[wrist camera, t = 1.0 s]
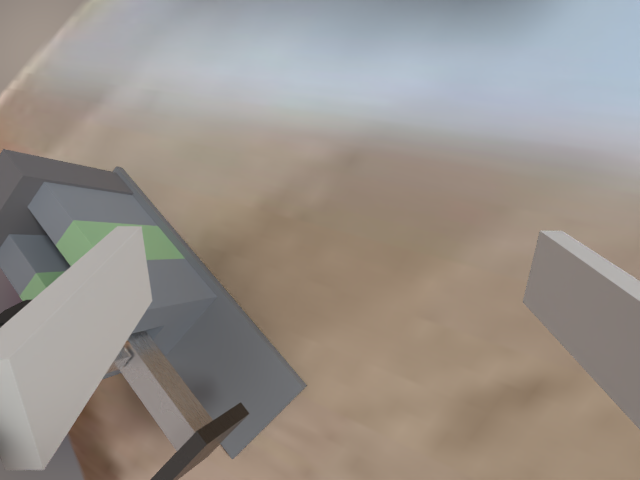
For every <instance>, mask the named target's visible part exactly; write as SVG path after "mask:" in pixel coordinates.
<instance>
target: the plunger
mask: <svg viewBox="0 0 640 480" xmlns="http://www.w3.org/2000/svg"><path fill="white" fill-rule="evenodd" d="M116 370H120V372H121V373H122V375H123V376H124V377H125V379H126V380H127V382H128V383H129V384H130V386H131V387H132V389H133V390H134V391H135V393H136V394H137V396H138V397H139V399H140V400H141V401H142V403H143V404H144V406H145V407H146V408H147V410H148V411H149V413H150V414H151V415H152V417H153V418H154V420H155V421H156V423H157V424H158V425H159V427H160V428H161V430H162V431H163V432H164V434H165V435H166V437H167V438H168V439H169V441H170V442H171V444H172V445H173V447H174V448H175V449H176V451H177V452H176V453H175V454H174V455H173V456H172V458H171V459H170V460H169V461H168V462H167V463H166V464H165V465H164V466H163V467H162V468H161V469H160V470H159V471H158V472H157V473H156V474H155V475H154V477H153V478H152V479H151V480H178V479H179V478H180V477H182V476H183V475H184V474H186V473H187V472H188V471H190V470H191V469H192V468H193V467H195V466H196V465H197V464H199V463H200V462H201V461H203V460H204V459H205V458H206V457H208V456H209V455H210V454H211V453H212V452H213V450H214V449H215V448H216V447H217V446H218V445H219V444H220V443H221V442H222V441H223V440H224V439H225V438H226V437H227V436H228V435H229V434H230V433H231V432H232V431H233V430H234V429H235V428H236V427H237V426H238V425H239V424H240V423H241V422H242V421H243V420H244V419H245V418H246V417H247V416H248V415H249V414H250V413H249V412H248V411H247V409H246V408H245V407H244V406H243V404H242V403H241V402H240V403H239V404H237V405H236V406H234V407H233V408H231V409H230V410H228V411H227V412H225V413H223V414H222V415H220V416H219V417H217V418H216V419H214V420H213V419H212V418H211V417H210V415H209V414H208V413H207V411H206V410H205V409H204V407H203V406H202V405H201V403H200V402H199V401H198V399H197V398H196V397H195V395H194V394H193V393H192V391H191V390H190V389H189V387H188V386H187V385H186V383H185V382H184V381H183V380H182V378H181V377H180V376H179V374H178V373H177V372H176V370H175V369H174V368H173V366H172V365H171V364H170V362H169V361H168V360H167V358H166V357H165V356H164V354H163V353H162V352H161V350H160V349H159V348H158V346H157V345H156V344H155V342H154V341H153V340H152V338H151V337H150V336H149V334H148V333H147V332H146V330H145V331H140V332H136V333H132V334H131V335H130V336H129V338H128V340H127V341H126V343H125V344H124V346H123V347H122V349H121V351H120V352H119V354H118V355H117V357H116V358H115V360H114V361H113V363H112V365H111V366H110V368H109V369H108V371H107V372H106V374H107V373H110V372H113V371H116Z"/></svg>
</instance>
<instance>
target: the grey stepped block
mask: <svg viewBox="0 0 640 480" xmlns="http://www.w3.org/2000/svg"><path fill="white" fill-rule="evenodd" d="M117 226H142V233H143V240H144V247H145V253H146V260H147V267H148V274H149V281H150V288H151V294H152V302H151V304H150V305H149V307H148V308H147V310H146V312H145V313H144V315H143V316H142V318H141V319H140V321H139V322H138V324H137V326H136V327H135V329H134V330H133V332H132V333H136V332H140V331H145V330H146V332H147V333H148V334H149V336H150V337H151V338H152V340H153V341H154V342H155V344H156V345H157V346H158V348H159V349H160V350H161V352H162V353H163V354H164V356H165V357H166V358H167V360H168V361H169V362H170V364H171V365H172V366H173V368H174V369H175V370H176V372H177V373H178V374H179V376H180V377H181V378H182V380H183V381H184V382H185V383H186V385H187V386H188V387H189V389H190V390H191V391H192V393H193V394H194V395H195V397H196V398H197V399H198V401H199V402H200V403H201V405H202V406H203V407H204V409H205V410H206V411H207V413H208V414H209V415H210V417H211V418H212V419H213V420H214V419H216V418H217V417H219V416H220V415H222V414H223V413H225V412H227V411H228V410H230V409H231V408H233V407H234V406H236V405H237V404H239V403H240V402H241V403H242V404H243V406H244V407H245V408H246V409H247V411H248V412H249V413H250V414H249V415H248V416H247V417H246V418H245V419H244V420H243V421H242V422H241V423H240V424H239V425H238V426H237V427H236V428H235V429H234V430H233V431H232V432H231V433H230V434H229V435H228V436H227V437H226V438H225V439H224V440H223V441H222V442H221V443H220V444H221V445H222V446H223V448H224V449H225V450H226V452H227V453H228V454H229V456H230V457H231V458H232V459H233V458H235V457H236V456H237V455H238V454H239V453H240V452H241V451H242V450H243V449H244V448H245V447H246V446H247V445H248V444H249V443H250V442H251V441H252V440H253V439H254V438H255V437H256V436H257V435H258V434H259V433H260V432H261V431H262V430H263V429H264V428H265V427H266V426H267V425H268V424H269V423H270V422H271V421H272V420H273V419H274V418H275V417H276V416H277V415H278V414H279V413H280V412H281V411H282V410H283V409H284V408H285V407H286V406H287V405H288V404H289V403H290V402H291V401H292V400H293V399H294V398H295V397H296V396H297V395H298V394H299V393H300V392H301V391H302V390H303V389H304V388H305V387H306V386H307V385H306V384H305V383H304V382H303V380H302V379H301V378H300V377H299V376H298V375H297V373H296V372H295V371H294V370H293V369H292V367H291V366H290V365H289V364H288V363H287V362H286V360H285V359H284V358H283V357H282V356H281V354H280V353H279V352H278V351H277V350H276V349H275V347H274V346H273V345H272V344H271V343H270V342H269V340H268V339H267V338H266V337H265V336H264V334H263V333H262V332H261V331H260V330H259V329H258V327H257V326H256V325H255V324H254V323H253V322H252V320H251V319H250V318H249V317H248V316H247V314H246V313H245V312H244V311H243V310H242V309H241V307H240V306H239V305H238V304H237V303H236V301H235V300H234V299H233V298H232V297H231V296H230V294H229V293H228V292H227V291H226V290H225V289H224V287H223V286H222V285H221V284H220V283H219V281H218V280H217V279H216V278H215V277H214V276H213V274H212V273H211V272H210V271H209V270H208V268H207V267H206V266H205V265H204V264H203V263H202V261H201V260H200V259H199V258H198V257H197V256H196V254H195V253H194V252H193V251H192V250H191V248H190V247H189V246H188V245H187V244H186V243H185V241H184V240H183V239H182V238H181V237H180V235H179V234H178V233H177V232H176V231H175V230H174V228H173V227H172V226H171V225H170V224H169V223H168V221H167V220H166V219H165V218H164V217H163V215H162V214H161V213H160V212H159V211H158V210H157V208H156V207H155V206H154V205H153V204H152V202H151V201H150V200H149V199H148V198H147V197H146V195H145V194H144V193H143V192H142V191H141V190H140V188H139V187H138V186H137V185H136V184H135V182H134V181H133V180H132V179H131V178H130V177H129V175H128V174H127V173H126V172H125V171H124V170H123V168H121V167H116V168H115V169H114V171H113V172H111V171H106V170H101V169H96V168H91V167H87V166H82V165H77V164H72V163H67V162H63V161H58V160H53V159H48V158H43V157H39V156H34V155H29V154H24V153H19V152H15V151H10V150H5V149H3V150H2V152H1V154H0V268H1V269H2V271H3V272H4V274H5V275H6V277H7V278H8V280H9V281H10V283H11V284H12V286H13V287H14V288H15V290H16V292H17V293H18V295H19V296H20V298H21V299H22V301H25V300H33V299H34V298H35V297H36V296H37V295H39V294H40V293H41V292H42V291H43V290H44V289H46V288H47V287H48V286H49V285H50V284H51V283H52V282H54V281H55V280H56V279H57V278H58V277H59V276H60V275H62V274H63V273H64V272H65V271H66V270H67V269H69V268H70V267H71V266H72V265H73V264H74V263H75V262H77V261H78V260H79V259H80V258H81V257H82V256H84V255H85V254H86V253H87V252H88V251H89V250H90V249H92V248H93V247H94V246H95V245H96V244H97V243H98V242H100V241H101V240H102V239H103V238H104V237H105V236H107V235H108V234H109V233H110V232H111V231H112V230H113V229H115V228H116V227H117ZM132 333H131V334H132ZM119 373H121V372H120V370H116V371H113V372H110V373H107V374H105V376H104V377H103V379H105V378H108V377H111V376H114V375H116V374H119Z"/></svg>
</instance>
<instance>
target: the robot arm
mask: <svg viewBox="0 0 640 480" xmlns="http://www.w3.org/2000/svg"><path fill="white" fill-rule="evenodd" d="M151 302H152V294H151V288H150V281H149V274H148V267H147V260H146V253H145V247H144V240H143V233H142V226H117V227H116V228H115V229H113V230H112V231H111V232H110V233H109V234H108V235H107V236H105V237H104V238H103V239H102V240H101V241H100V242H98V243H97V244H96V245H95V246H94V247H93V248H92V249H90V250H89V251H88V252H87V253H86V254H85V255H84V256H82V257H81V258H80V259H79V260H78V261H77V262H75V263H74V264H73V265H72V266H71V267H70V268H69V269H67V270H66V271H65V272H64V273H63V274H62V275H60V276H59V277H58V278H57V279H56V280H55V281H54V282H52V283H51V284H50V285H49V286H48V287H47V288H46V289H44V290H43V291H42V292H41V293H40V294H39V295H37V296H36V297H35V298H34V299H33V300H25V301H23V302H21V303H19V304H17V305H15V306H13V307H11V308H9V309H7V310H5V311H3V312H2V313H1V314H0V458H1V460H2V463H3V466H4V469H5V470H44V469H45V468H46V466H47V464H48V463H49V461H50V460H51V458H52V457H53V455H54V453H55V452H56V450H57V449H58V447H59V446H60V444H61V443H62V441H63V439H64V438H65V436H66V435H67V433H68V432H69V430H70V429H71V427H72V425H73V424H74V422H75V421H76V419H77V418H78V416H79V415H80V413H81V411H82V410H83V408H84V407H85V405H86V404H87V402H88V400H89V399H90V397H91V396H92V394H93V393H94V391H95V390H96V388H97V386H98V385H99V383H100V382H101V380H102V379H103V377H104V376H105V374H106V372H107V371H108V369H109V368H110V366H111V365H112V363H113V361H114V360H115V358H116V357H117V355H118V354H119V352H120V351H121V349H122V347H123V346H124V344H125V343H126V341H127V340H128V338H129V336H130V335H131V333H132V332H133V330H134V329H135V327H136V326H137V324H138V322H139V321H140V319H141V318H142V316H143V315H144V313H145V312H146V310H147V308H148V307H149V305H150V304H151ZM523 303H524V304H525V305H526V306H527V307H528V308H529V309H530V311H531V312H532V313H533V314H534V315H535V316H536V317H537V318H538V319H539V320H540V321H541V322H542V324H543V325H544V326H545V327H546V328H547V329H548V330H549V331H550V332H551V333H552V334H553V336H554V337H555V338H556V339H557V340H558V341H559V342H560V343H561V344H562V345H563V346H564V348H565V349H566V350H567V351H568V352H569V353H570V354H571V355H572V356H573V357H574V358H575V360H576V361H577V362H578V363H579V364H580V365H581V366H582V367H583V368H584V369H585V370H586V372H587V373H588V374H589V375H590V376H591V377H592V378H593V379H594V380H595V381H596V382H597V384H598V385H599V386H600V387H601V388H602V389H603V390H604V391H605V392H606V393H607V394H608V395H609V397H610V398H611V399H612V400H613V401H614V402H615V403H616V404H617V405H618V406H619V407H620V409H621V410H622V411H623V412H624V413H625V414H626V415H627V416H628V417H629V418H630V419H631V421H632V422H633V423H634V424H635V425H636V426H637V427H638V428H639V429H640V281H639V280H637V279H636V278H634V277H633V276H631V275H630V274H628V273H626V272H625V271H623V270H622V269H620V268H619V267H617V266H616V265H614V264H613V263H611V262H609V261H608V260H606V259H605V258H603V257H602V256H600V255H599V254H597V253H596V252H594V251H592V250H591V249H589V248H588V247H586V246H585V245H583V244H582V243H580V242H579V241H577V240H575V239H574V238H572V237H571V236H569V235H568V234H566V233H565V232H563V231H540V232H539V236H538V240H537V245H536V249H535V253H534V257H533V261H532V265H531V270H530V274H529V278H528V282H527V286H526V290H525V295H524V299H523Z"/></svg>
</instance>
